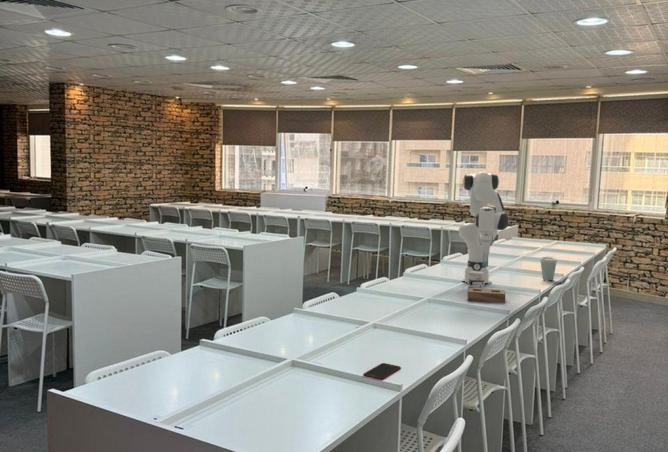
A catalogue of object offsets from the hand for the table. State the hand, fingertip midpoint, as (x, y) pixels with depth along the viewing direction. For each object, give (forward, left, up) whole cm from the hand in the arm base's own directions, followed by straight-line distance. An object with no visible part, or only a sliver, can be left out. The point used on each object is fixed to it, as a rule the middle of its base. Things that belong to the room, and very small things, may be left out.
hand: (485, 260), depth 319 cm
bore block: (+1, +1, -22) cm, 22 cm away
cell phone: (+135, -34, -22) cm, 141 cm away
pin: (0, 0, -3) cm, 3 cm away
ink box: (-21, -5, -22) cm, 30 cm away
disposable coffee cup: (-74, +41, -22) cm, 87 cm away
